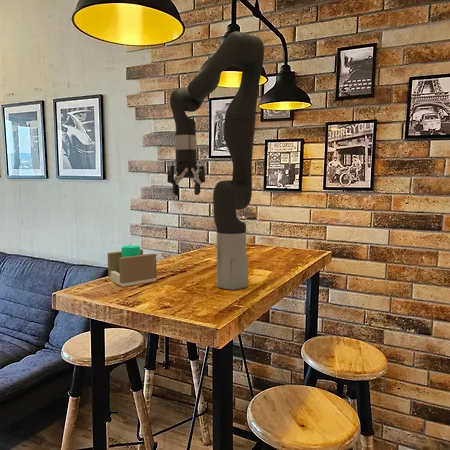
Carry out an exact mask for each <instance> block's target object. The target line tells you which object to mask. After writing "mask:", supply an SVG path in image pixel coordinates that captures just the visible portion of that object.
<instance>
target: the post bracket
mask: <svg viewBox="0 0 450 450" xmlns="http://www.w3.org/2000/svg"><path fill="white" fill-rule="evenodd" d="M157 270H158V269H157V254H156V253H146V254H144V250H143V249H141V248H140V255H136V256H128V257H122V250H121V251H113V252H112V251H111V252H107V272H108V273H107V275H108V280H109V281H111V282H113V283H115V284H117V285H119V286H120V287H128V286H135V285H139V284H141V285H142V284H147V283H152V282H157V281H158V280H157V279H158V278H157V275H158V274H157Z"/></svg>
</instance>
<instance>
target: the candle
mask: <svg viewBox="0 0 450 450" xmlns="http://www.w3.org/2000/svg"><path fill="white" fill-rule="evenodd" d="M129 243H130V244H127V245H122V246H121V251H122V257H128V256H136V255H140V249H141V247H140V245H138V244H137V245H133V244H132V242H131V241H130V242H129Z"/></svg>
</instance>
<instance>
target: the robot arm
mask: <svg viewBox="0 0 450 450" xmlns="http://www.w3.org/2000/svg"><path fill="white" fill-rule="evenodd" d="M264 58H265V45H264V41H263V40H262V39H261V38H260V37H259V36H256V35H252V34H250V33H246V32H242V31H237V30H236V31H233V32H231V33H230V34H228V36H227V37H226V38H225V39H224V40H223V42H222V43H221V45H220V46H219V47H218V49H217V50H216V51H215V52H214V54H213V56H212V57H211V59H210V60H209V61H208V63H207V64H206V66H205V67H204V68H203V69H202V70H201V71H200V72H199V73H198V74H197V75H196V76H195V77H194V78H193V79H192V80H191V81H190V82H189V83H188V85H187V90H186V89H185V90H184V89H179V88H178V89H177V88H176V89H174V90H173V91H172V92H171V94H170V97H169V103H170V104H169V105H170V109H171V111H172V115H173V119H174V123H175V141H174V144H175V145H174V146H175V148H174V149H175V165H172V164H171V165H168V166H167V183H168V184H172V194H173V195H174V196H177V197H178V196H179V195H180V184H179V183H180V182H181V180H183V179H185V178H186V179H191V180H192V181H193V182H194V185H193V187H194V188H193V189H194V195H195V196H198V195H200V194H201V184H203V183H205V182H206V172H205V166H204V165H197V162H198V145H197V143H198V142H197V124H196V123H197V122H196V120H195V119H193V118H191V117H189V116H188V115H187V113H194V112H197V111H198V110H199V109H200V108H201V106H202V104H203V103H204V101H205V99H206V98H207V97H208V96H209V95H210V94H212V93H213V92H214V91H215V90H216V89H217V88H218V86H219V84H220V80H221V75H222V72H223V71H225V70H226V69H227V68H229V67H231V66H233V67H237V68H241V79H240V84H239V88H238V90H237V92H236V94H235V95H234V96H233V98H232V100H231V101H230V103H229V105H228V107H227V109H226V111H225V114H224V124H223V125H224V126H223V138H224V141H225V143H224V144H225V145H226V148H227V150H228V152H229V155H230V159H231V160H232V161H231V162H232V179H231V180H229V179H228V180H221V181H217V183H216V185H215V186H214V189H213V193H212V203H213V204H212V206H213V219H214V224H215V227H216V286H217V288H220V289H225V290H231V291H235V290H239V289H244V288H248V287H249V258H248V256H247V224H246V222H244V221H241V220H240V219H239V218H238V216H237V211H239V210H244V209H246V208H248V207H249V205H250V204H251V201H252V196H253V173H252V171H253V165H252V164H253V149H254V138H255V132H256V130H255V129H256V128H255V127H256V117H257V116H256V114H257V104H258V103H257V102H258V94H259V89H260V88H259V87H260V81H261V75H262V70H263V64H264V60H265V59H264ZM186 112H187V113H186ZM175 172H176V174H175Z"/></svg>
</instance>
